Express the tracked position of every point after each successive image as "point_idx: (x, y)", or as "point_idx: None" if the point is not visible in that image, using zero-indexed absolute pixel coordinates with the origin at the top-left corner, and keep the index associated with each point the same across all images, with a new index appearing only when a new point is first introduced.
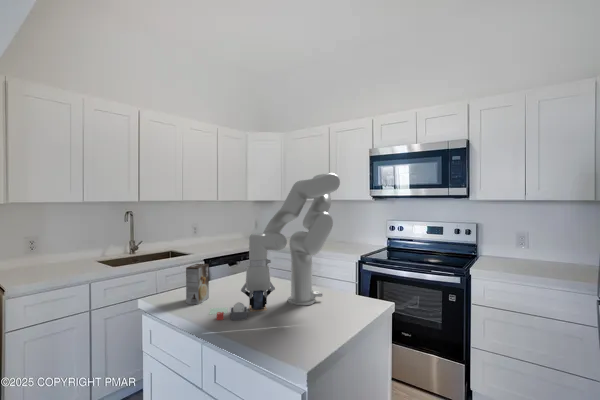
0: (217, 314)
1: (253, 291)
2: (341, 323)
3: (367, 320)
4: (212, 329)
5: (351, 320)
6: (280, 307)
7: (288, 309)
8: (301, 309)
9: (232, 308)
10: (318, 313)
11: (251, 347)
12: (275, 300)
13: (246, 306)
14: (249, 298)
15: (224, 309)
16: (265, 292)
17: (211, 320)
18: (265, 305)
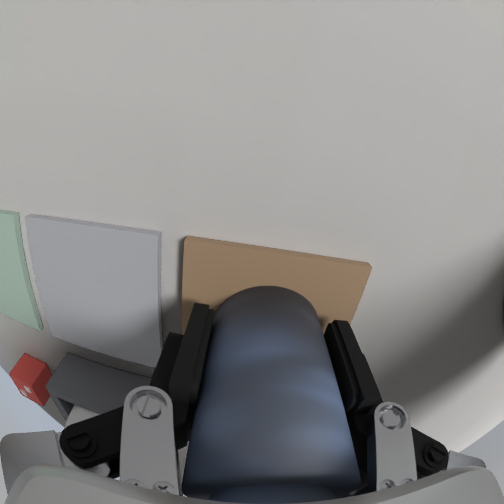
0: (23, 395)
1: (193, 489)
2: (447, 450)
3: (490, 429)
4: (55, 417)
5: (475, 434)
6: (437, 332)
7: (444, 368)
8: (478, 371)
9: (58, 399)
10: (475, 406)
11: (185, 495)
12: (488, 153)
13: (153, 248)
14: (151, 382)
15: (7, 256)
16: (354, 493)
17: (15, 356)
18: (362, 287)
